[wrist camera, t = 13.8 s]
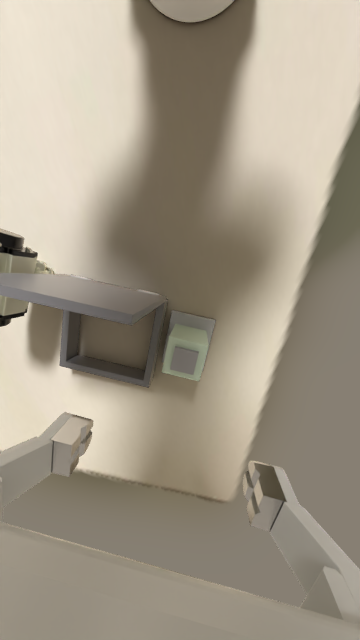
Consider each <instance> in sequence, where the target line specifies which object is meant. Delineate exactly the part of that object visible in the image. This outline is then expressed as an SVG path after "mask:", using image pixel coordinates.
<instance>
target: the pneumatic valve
mask: <svg viewBox="0 0 360 640" xmlns="http://www.w3.org/2000/svg"><path fill="white" fill-rule="evenodd" d="M23 244H24V237H22V236H20V235H18V234H15V233H12V232H9V231H6V230H3V229H0V273H27V274H53V272H52V269H51V268H48V270H46V265H47V264H46V263H44V262H42V261H39V260H37V255H38V253H37V252H34V251H32V250H31V249H30V248H27V247H26V248H24V247H23ZM28 303H29V302H27V301H23V300H19V299H14V298H10V297H6V296H1V295H0V327H1V326H5V325H8V324H9V323H10V322H11V318H16V317H20V316H24V313H27V309H28Z"/></svg>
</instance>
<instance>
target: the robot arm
mask: <svg viewBox="0 0 360 640" xmlns="http://www.w3.org/2000/svg"><path fill="white" fill-rule="evenodd" d="M233 1H234V0H150V2H151V3H152V4H153V5H154V6H155V7H156V8H157V9H158V10H159V11H160V12H161V13H163V14H164V15H166V16H168V17H169V18H172V19H174V20H177V21H181V22H198V21H203V20H206V19H209V18H211V17H213V16H215V15H217V14H219V13H220V12H222V11H223V10H224V9H226V8H227V7H228V6H229V5H230V4H231V3H232V2H233ZM92 427H93V420H91V419H88V418H84V417H81V416H77V415H73V414H70V413H66V412H65V413H63V414H61V415H60V416H59V417H58V418H57V419H56V420H55V421H54V422H53V423H52V424H51V425H50V426H49V427H48V428H47V429H46V430H45V431H44V433H43V434H42V435H41V436H40V437H34V438H31V439H29V440H27V441H25V442H22V443H20V444H18V445H16V446H13V447H11V448H9V449H7V450H4V451H2V452H0V640H360V570H359V568H358V567H357V566H356V565H355V564H354V563H353V562H352V561H351V560H350V558H349V557H348V556H347V555H346V554H345V553H344V552H343V551H342V550H341V548H340V547H339V546H338V545H337V544H336V543H335V542H334V541H333V539H332V538H331V537H329V535H328V534H327V533H326V532H325V531H324V529H323V528H322V527H321V526H320V525H319V524H318V523H317V522H316V521H315V520H314V518H313V517H312V516H311V515H310V514H309V513H308V512H307V511H306V510H305V508H304V507H302V506H300V505H299V503H298V500H297V498H296V496H295V494H294V491H293V489H292V487H291V485H290V482H289V480H288V478H287V475H286V473H285V471H284V469H283V468H281V467H277V466H273V465H269V464H265V463H261V462H257V461H253V460H251V461H250V462H249V464H248V469H249V471H247V472H246V473H245V475H244V478H243V492H244V496H245V498H246V500H247V501H248V506H247V512H248V517H249V522H250V526H253V527H256V528H259V529H262V530H266V531H269V532H270V534H271V536H272V538H273V540H274V541H275V543H276V545H277V546H278V548H279V550H280V551H281V553H282V554H283V556H284V558H285V560H286V561H287V563H288V565H289V566H290V568H291V570H292V571H293V573H294V574H295V576H296V578H297V580H298V581H299V583H300V585H301V586H302V588H303V590H304V591H305V593H306V595H307V596H306V597H305V599H304V601H303V602H302V604H301V606H300V607H296V606H293V605H289V604H285V603H282V602H279V601H275V600H272V599H268V598H265V597H261V596H258V595H254V594H251V593H247V592H243V591H240V590H237V589H233V588H229V587H226V586H223V585H219V584H216V583H212V582H209V581H205V580H201V579H198V578H195V577H191V576H188V575H184V574H181V573H178V572H174V571H171V570H167V569H164V568H160V567H156V566H153V565H150V564H146V563H142V562H139V561H135V560H132V559H129V558H125V557H121V556H118V555H114V554H110V553H107V552H104V551H101V550H97V549H94V548H90V547H86V546H83V545H80V544H76V543H73V542H69V541H66V540H62V539H59V538H55V537H51V536H48V535H45V534H41V533H38V532H34V531H30V530H27V529H24V528H20V527H16V526H13V525H10V524H6V523H3V508H4V507H5V506H6V505H8V504H9V503H10V502H12V501H13V500H15V499H16V498H18V497H19V496H21V495H22V494H23V493H25V492H26V491H28V490H29V489H30V488H32V487H33V486H35V485H36V484H38V483H39V482H40V481H42V480H43V479H44V478H46V477H47V476H49V475H50V474H51V473H56V474H60V475H64V476H68V477H69V476H70V474H71V473H72V472H73V470H74V469H75V467H76V466H77V464H78V461H79V457H80V456H82V455H83V454H84V453H85V452H86V450H87V448H88V446H89V444H90V441H91V438H92V432H91V428H92Z"/></svg>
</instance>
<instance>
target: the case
mask: <svg viewBox="0 0 360 640" xmlns="http://www.w3.org/2000/svg"><path fill="white" fill-rule="evenodd" d="M0 295H1V296H6V297H10V298H14V299H19V300H23V301H27V302H32V303H36V304H40V305H45V306H49V307H54V308H58V309H62V310H63V323H62V338H61V352H60V366H62V367H66V368H71V369H75V370H79V371H83V372H87V373H91V374H95V375H99V376H103V377H107V378H111V379H116V380H120V381H124V382H128V383H132V384H136V385H140V386H144V387H148V388H149V385H150V383H151V381H152V379H153V375H154V370H155V365H156V359H157V354H158V349H159V344H160V339H161V334H162V328H163V323H164V318H165V313H166V308H167V303H168V300H167V299H165V298H166V296H161V295H159V294H158V293H154V292H149V291H145V290H140V289H138V290H134V289H130V288H125V287H121V286H116V285H111V284H107V283H102V282H98V281H93V279H90V278H85V277H81V276H76V275H66V274H27V273H0ZM155 308H157V309H156V314H155V320H154V325H153V331H152V336H151V342H150V347H149V353H148V358H147V364H146V369H145V371H144V370H140V369H135V368H131V367H127V366H123V365H119V364H115V363H110V362H106V361H102V360H98V359H94V358H90V357H85V356H81V355H77V351H78V340H79V329H80V318H81V314H84V315H88V316H93V317H97V318H102V319H106V320H110V321H115V322H119V323H123V324H128V325H133V324H134V323H136V322H137V321H138V320H140V319H141V318H143V317H144V316H146V315H147V314H148V313H150V312H151V311H153V310H154V309H155Z"/></svg>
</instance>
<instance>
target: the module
mask: <svg viewBox="0 0 360 640" xmlns="http://www.w3.org/2000/svg"><path fill="white" fill-rule="evenodd" d="M207 350H208V338H207V331H206V330H201V329H197V328H192V327H188V326H184V325H179V324H175V326H174V328H173V330H172V332H171V334H170V336H169V339H168V344H167V349H166V354H165V359H164V364H163V369H162V373H166V374H170V375H174V376H178V377H182V378H187V379H191V380H195V381H200V377H201V373H202V369H203V365H204V361H205V358H206V354H207Z"/></svg>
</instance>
